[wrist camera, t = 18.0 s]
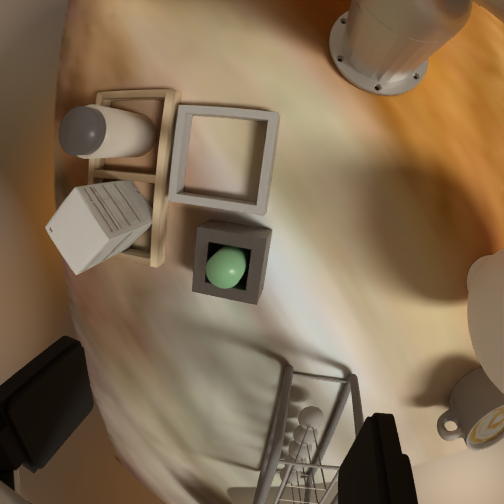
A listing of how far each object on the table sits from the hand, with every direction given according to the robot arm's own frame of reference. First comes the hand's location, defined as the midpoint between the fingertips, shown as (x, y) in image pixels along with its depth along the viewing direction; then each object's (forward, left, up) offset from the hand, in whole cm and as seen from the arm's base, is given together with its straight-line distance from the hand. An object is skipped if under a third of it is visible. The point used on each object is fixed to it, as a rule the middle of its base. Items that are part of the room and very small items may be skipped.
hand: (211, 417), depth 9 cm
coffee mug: (+22, +35, -32) cm, 53 cm away
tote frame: (-7, -9, -32) cm, 34 cm away
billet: (-9, -22, -32) cm, 40 cm away
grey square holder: (+5, -6, -32) cm, 33 cm away
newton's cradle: (+34, +9, -33) cm, 48 cm away
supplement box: (+2, -22, -32) cm, 39 cm away
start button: (+5, -6, -32) cm, 32 cm away
